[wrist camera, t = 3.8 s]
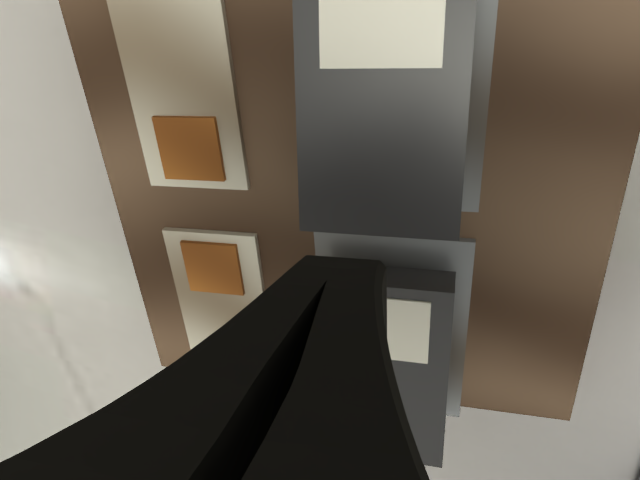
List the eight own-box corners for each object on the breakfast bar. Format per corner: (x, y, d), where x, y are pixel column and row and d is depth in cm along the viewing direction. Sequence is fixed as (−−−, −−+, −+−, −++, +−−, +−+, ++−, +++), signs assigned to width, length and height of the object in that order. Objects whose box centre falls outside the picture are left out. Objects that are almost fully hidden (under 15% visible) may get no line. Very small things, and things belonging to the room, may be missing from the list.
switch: (443, 437, 17) (441, 469, 16) (331, 421, 17) (321, 450, 16) (456, 271, 14) (454, 294, 13) (326, 261, 15) (314, 282, 14)
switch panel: (562, 391, 18) (570, 445, 17) (181, 344, 22) (154, 385, 20) (817, -752, 7) (927, -964, 6) (-31, -498, 11) (-134, -580, 9)
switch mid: (459, 223, 13) (458, 242, 12) (313, 215, 14) (298, 231, 12) (479, -48, 11) (481, -58, 10) (307, -39, 12) (289, -47, 10)
